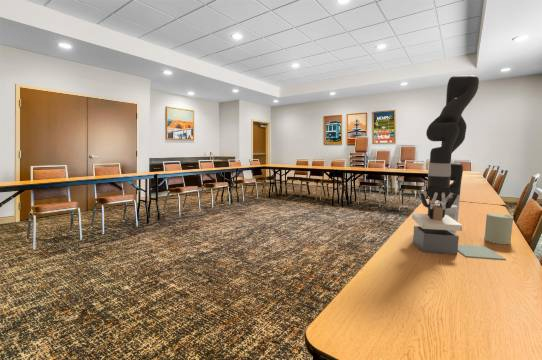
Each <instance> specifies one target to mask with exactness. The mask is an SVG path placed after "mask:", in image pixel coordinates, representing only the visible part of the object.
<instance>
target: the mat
mask: <svg viewBox="0 0 542 360" xmlns="http://www.w3.org/2000/svg"><path fill="white" fill-rule="evenodd" d="M457 253H460V254H461V255H462V256H464V257H465V258H477V259H489V260H501V261H503V260H504V261H506V260H507V259H506V257H503V256H501V255H500V254H499V253H497V252H495V251H493V250H492V249H490V248H488V247H487V246H485V245H473V244H472V245H471V244H462V243H461V244H459V243H458V251H457Z"/></svg>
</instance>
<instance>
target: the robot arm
mask: <svg viewBox="0 0 542 360" xmlns="http://www.w3.org/2000/svg"><path fill="white" fill-rule="evenodd" d="M479 81H480V78H479V77H478V76H477V75H453V76H450V78H449V79H448V82H447V86H446V98H445V100H446V101H445V106H444V107H443V108H442V109H441V112H440V114H439V116H437V117H436V118H435V119H434V120H433V121H432V122H431V123H430V124H429V125H428V127H427V129H426V138H427V139H428V140H429V141H431V142H441V146H438V147H433V148H432V149H430V154H429V165H428V170H427V171H428V172H427V183H426V189H425V191H421V192H418V196H419V198H420V201H421V204H422V206H423V207H425V208H427V214H428V216H429V218H433V207H434V204H435V203H436V201H437V203H439V204H440V206H441V207H442V208H443V215H442V219H443V218H444V216H445V209H447V208H451V206H452V204H453V205H456V206H457V220H456V221H457V222H458V223H459V210H460V201H461V188H462V187H461V186H462V179H463V172H464V166H463V163H461V162H453V161H452V154H453V153H454V152H455V151H456V150H457V149H458V148H459V147H460V145H462V144H463V142H464V140H465V139H466V134H467V133H466V132H467V123H466V121H465V119H464V117H463V112H464V111H465V109H467V106H469V104H470V103H471V102H472V100H473V98H474V97H475V96H476V94H477V92H478V89H479V83H480V82H479ZM451 181H452V183H451ZM427 196H428V198H429V199H428V202H427V199H426V197H427Z"/></svg>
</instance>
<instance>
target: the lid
mask: <svg viewBox="0 0 542 360" xmlns="http://www.w3.org/2000/svg"><path fill="white" fill-rule="evenodd" d="M442 215H443V208H442V207H441V206H439V205H434V207H433V218H429V216H428V213H415V212H413V213H412V215H411V219H412V220H413V221H414V222H415V223H416V224H418V225H417V226H420V227H421V228H422V229H437V230H454V231H455V232H462V231H463V224H461V223H460V222H459V221H458V222H457V221H455V220H454V219H452V218H451V217H449V216H448V215H445V216H444V218H443V219H442Z"/></svg>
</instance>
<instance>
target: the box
mask: <svg viewBox="0 0 542 360" xmlns="http://www.w3.org/2000/svg"><path fill="white" fill-rule="evenodd" d="M412 237H413V238H412V242H413V244H414V245H415V246H416V247H417V249H419V250H420V251H421V252H422V253H430V254H431V253H432V254H434V253H435V254H446V255H458V244H459V238H460V236H459V235H457V233H455V234H454V233H453V232H451V231H449V230H437V229H422V228H421V227H420V226H419V225H414V226H413V236H412Z"/></svg>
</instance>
